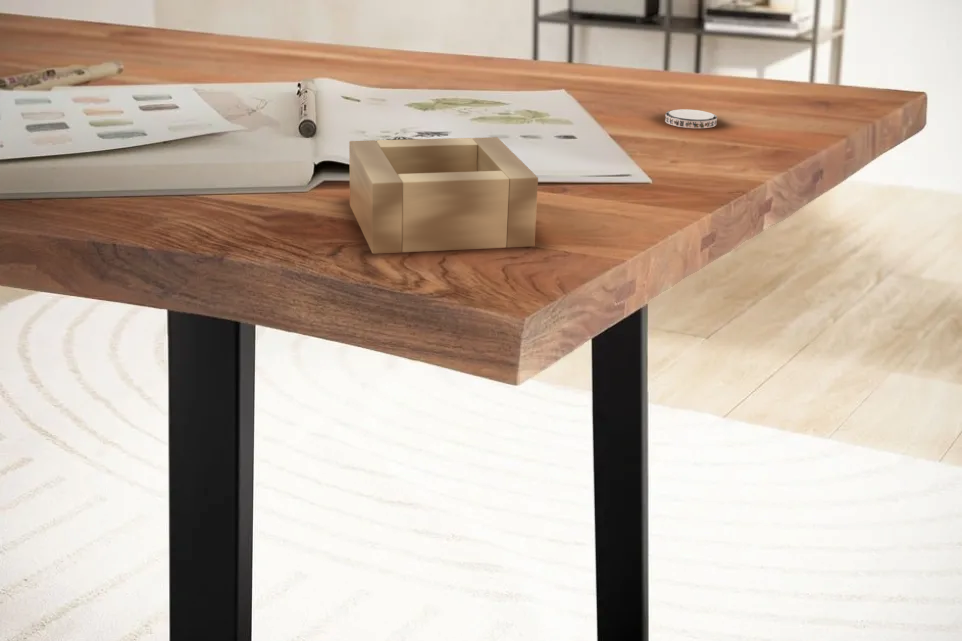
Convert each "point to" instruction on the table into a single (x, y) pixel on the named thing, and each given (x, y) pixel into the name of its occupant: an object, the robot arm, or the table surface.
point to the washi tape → (690, 118)
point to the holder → (441, 194)
